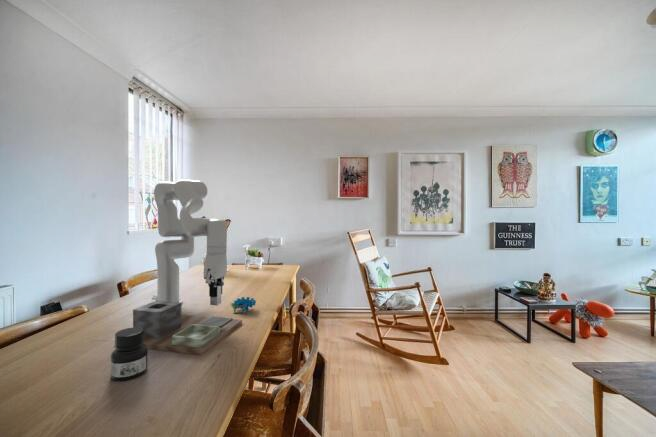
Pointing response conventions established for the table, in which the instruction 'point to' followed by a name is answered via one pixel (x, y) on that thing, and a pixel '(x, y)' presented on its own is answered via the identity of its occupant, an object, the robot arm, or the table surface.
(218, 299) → the grey capped block
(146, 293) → the table surface
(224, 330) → the workbench
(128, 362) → the ink bottle
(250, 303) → the blue lumpy piece
